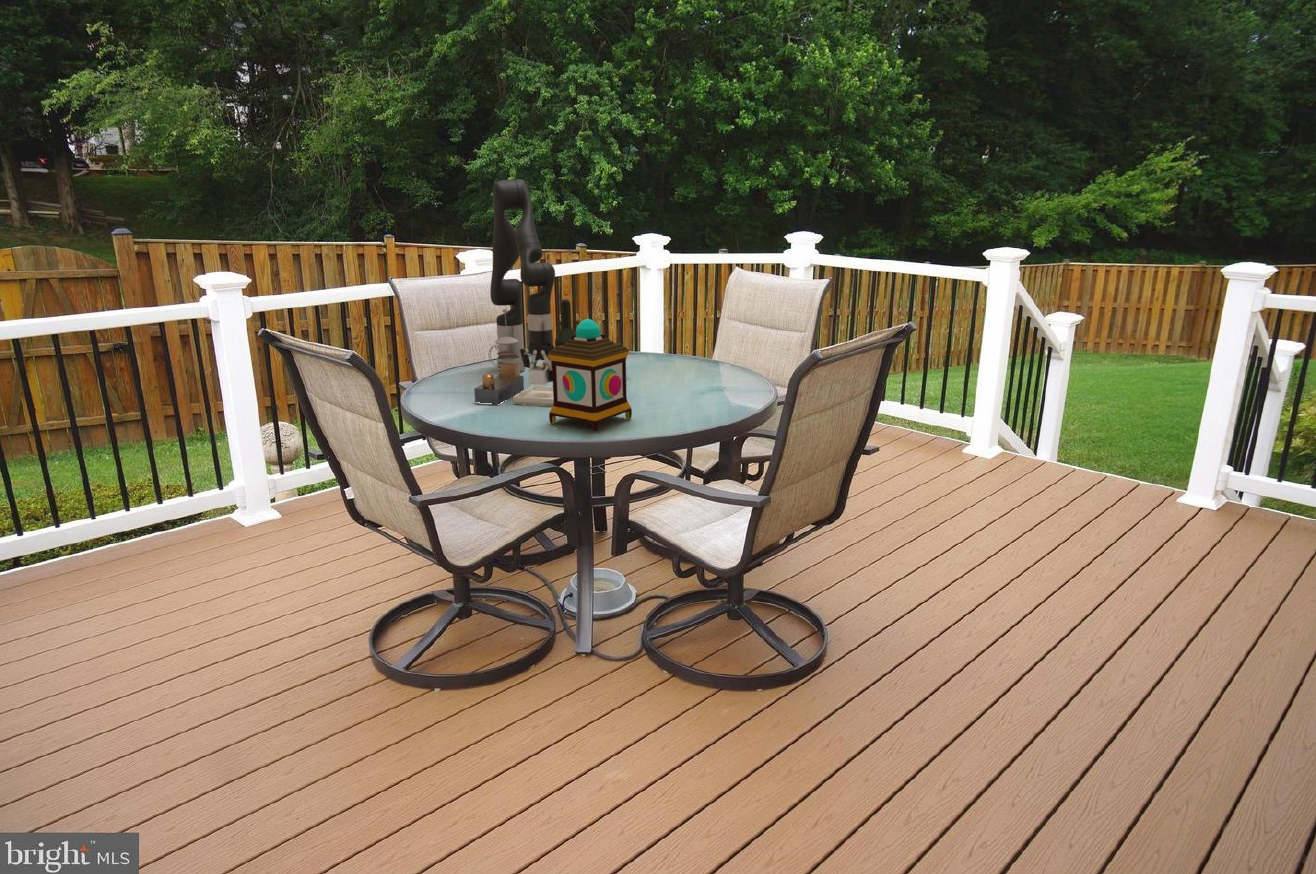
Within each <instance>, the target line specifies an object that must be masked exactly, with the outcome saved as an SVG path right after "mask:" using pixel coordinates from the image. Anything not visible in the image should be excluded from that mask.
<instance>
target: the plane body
mask: <svg viewBox="0 0 1316 874" xmlns="http://www.w3.org/2000/svg"><path fill="white" fill-rule="evenodd" d="M481 377H482V379H481V380H482V384H480V385H479V386H476V387H474V389H473V392H474V402H480V403H492V404H500V403H501V402H503V401H505V400H507V401H509V400H510V398H511V397H512V398H513V396H515V395H516V394H518V393H520V392H521V391H523V390H525V385H524V383H525V382H524V375H520V376H519V366H518V364H513V363H504V364H502V365H501V375H499V376H495V374H493V373H486V374H482V375H481ZM512 398H511V399H512ZM508 399H509V400H508ZM500 405H501V404H500Z"/></svg>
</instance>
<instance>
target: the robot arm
mask: <svg viewBox="0 0 1316 874" xmlns="http://www.w3.org/2000/svg"><path fill="white" fill-rule="evenodd" d="M492 205H493V207H492V208H493V233H492V234H493V235H492V236H493V237H492V270H491V271H492V272H491V280H490V291H489V293H490V300H491V303H492V304H493V305H494V306H501V307H502V306H511V308H510V309H508V312H506V322H505V313H504V312H503V313H502V314H499V315H498V316H497V317H496V320H495V322H496V334H497V335H496V336H497V337H496V338H497V340H498V339H500V338H502V337H506V329H507V336H508V337H512V338H515V339H517V340H518V341H519V342H518V343H516V344H510V345H508V351H517V352H518V354H517V355H516V356H519V365H520V373H522V371H523V372H525V371H524V370H526V368H528V370H530V369H532V368H533V367H535V366H537V365H538V362H539V361H544V362H545V363H546V364H547V366H548V368H549V382H548V383H553V376H552V363H551V360H550V359H549V357H548V353H550V351H551V350H553V349H554V348H555V345H554V332H553V318H552V311H551V310H552V309H551V306H552V305H551V298H552V292H553V289H554V288H553V287H554V283H555V280H556V279H555V278H556V270H555V267H554V266H553V264H552V263H550V262H539V261H541V260H542V257H543V249H542V246H541V243H540V240H539V236H538V233H537V230H536V229H537V228H536V223H535V216H534V211H533V205H532V201H531V194H530V189H529V187H528V184H527V182H526V181H525V180H524V179H519V178H515V179H503V180H498V181H495V182H494V185H493V188H492ZM509 210H511V211H512V210H521V211H522V213H521V215H522V216H521V218H520V222H519V224H518V226H517V229H516V228H515V227H514V226H513V224H512V223H511V222H510V221H509V219H508V217H507V215H506V211H509ZM518 260H519V261H520V274H519V275H520V276H519V277H520V279H517V278H506V279H504V277H505V276H506V274H508V272H509V270H511V269H512V268H513V266H514V265H515V264H516V263H517V262H518ZM521 282H522V283H521ZM522 284H523V285H524V286H526V287H541V289H539V291H537V292H535V293H532V294H529V295H528V296H527V331H528V333H527V335H528V347H525V344H524V330H523V329H524V328H523V324H524V323H523V311H522V310H523V309H522V308H523V305H522V303H523V300H522V299H523V298H522V295H523V291H522ZM497 345H498V349H497V351H498V352H501V351H507V345H501V344H497ZM498 352H497V353H498ZM529 353H530V355H531V359H530V357H529ZM499 356H500V355H498V357H499ZM506 359H512V358H506ZM506 359H504V360H506Z"/></svg>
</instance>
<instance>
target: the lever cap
mask: <svg viewBox="0 0 1316 874" xmlns="http://www.w3.org/2000/svg"><path fill="white" fill-rule="evenodd" d="M528 380H529V381H528V382H529V383H528V384H529V385H539V386H546V385H547V384H548V383H550V382H549V368H548V366H547V364H546V363H545V361H542V363H539V364H536V366H535V367H533V368H532V369H528Z"/></svg>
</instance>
